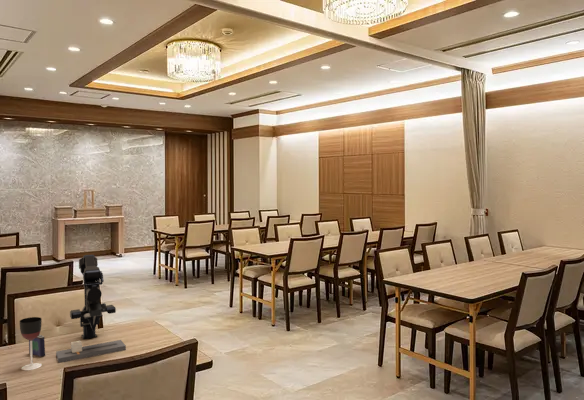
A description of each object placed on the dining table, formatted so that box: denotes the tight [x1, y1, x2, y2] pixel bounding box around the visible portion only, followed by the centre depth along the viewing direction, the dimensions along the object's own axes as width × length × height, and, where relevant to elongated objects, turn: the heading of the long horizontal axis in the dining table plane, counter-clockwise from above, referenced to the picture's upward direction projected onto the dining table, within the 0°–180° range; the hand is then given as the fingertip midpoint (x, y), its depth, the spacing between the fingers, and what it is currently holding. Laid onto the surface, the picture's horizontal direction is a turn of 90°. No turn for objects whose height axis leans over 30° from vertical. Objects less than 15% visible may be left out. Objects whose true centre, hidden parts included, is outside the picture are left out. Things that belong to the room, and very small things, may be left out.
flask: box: [28, 333, 46, 358], centre depth 205 cm, size 9×3×11 cm, turn 65°
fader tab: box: [70, 340, 83, 353], centre depth 204 cm, size 4×4×4 cm
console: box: [55, 339, 127, 364], centre depth 207 cm, size 10×28×2 cm, turn 123°
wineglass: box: [19, 316, 43, 371], centre depth 191 cm, size 8×9×20 cm
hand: (93, 330), depth 207 cm, fingers closed
